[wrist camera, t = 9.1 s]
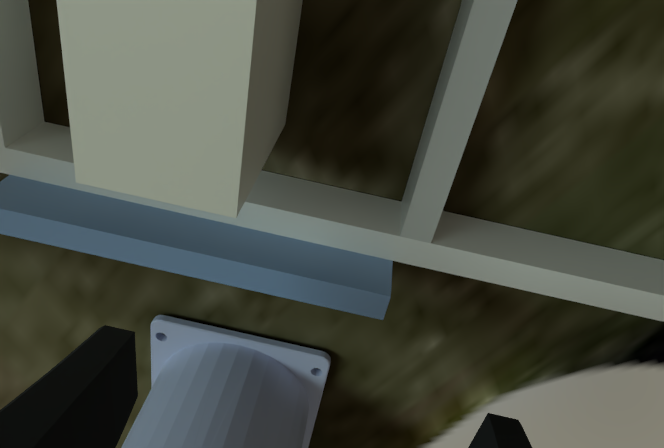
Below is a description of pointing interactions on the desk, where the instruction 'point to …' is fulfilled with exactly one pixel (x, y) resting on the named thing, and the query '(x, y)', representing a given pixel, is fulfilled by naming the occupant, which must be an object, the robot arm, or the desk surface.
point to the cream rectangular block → (177, 94)
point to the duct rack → (308, 206)
